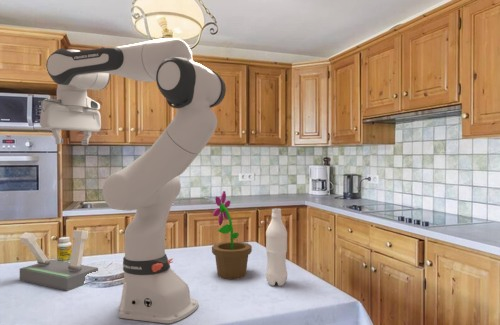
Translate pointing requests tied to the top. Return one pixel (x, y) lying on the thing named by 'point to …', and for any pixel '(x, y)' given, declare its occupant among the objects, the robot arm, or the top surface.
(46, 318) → the top surface
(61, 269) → the switch box
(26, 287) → the top surface
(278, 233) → the water bottle
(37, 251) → the on lever
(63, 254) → the supplement bottle
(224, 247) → the flowerpot
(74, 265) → the lever
